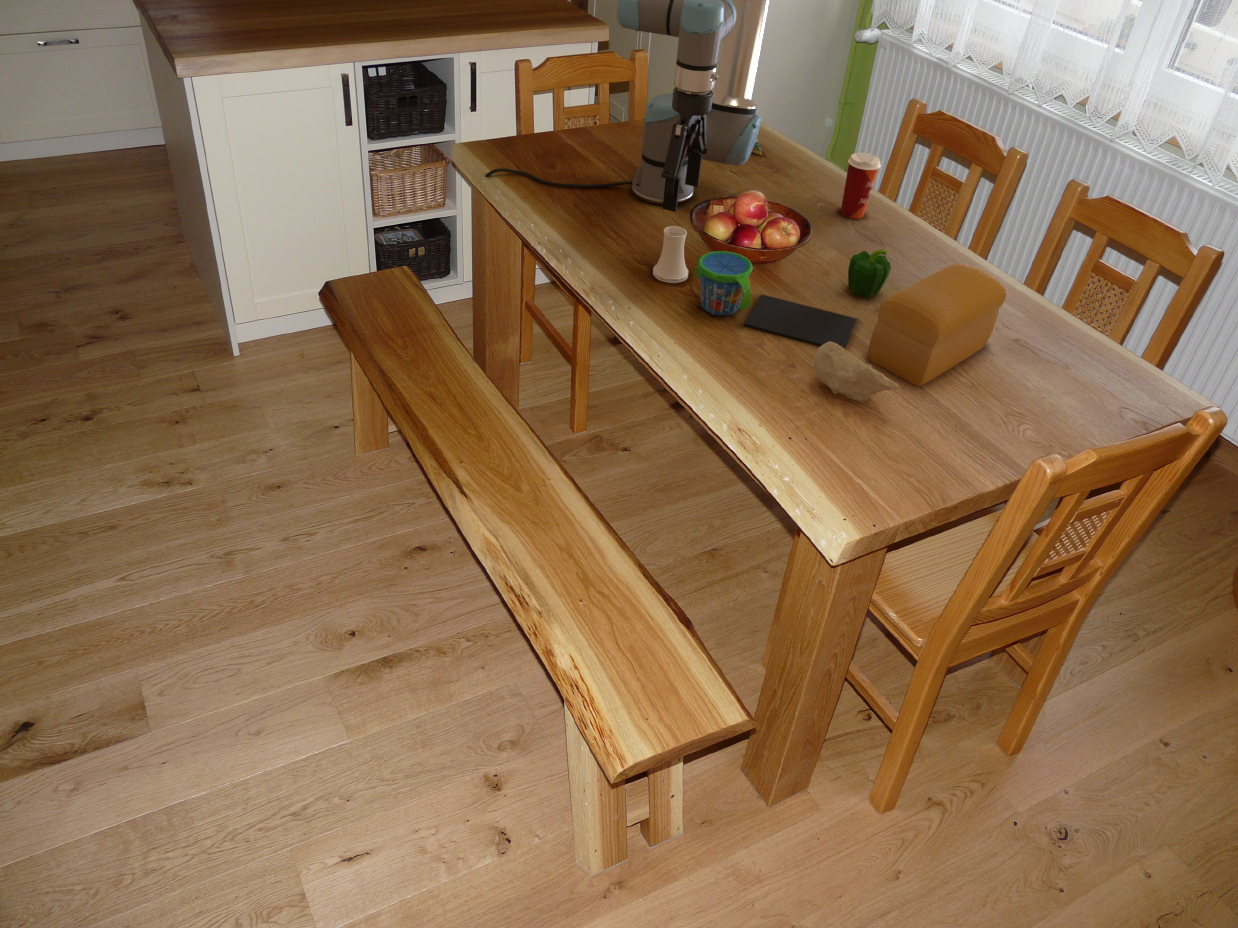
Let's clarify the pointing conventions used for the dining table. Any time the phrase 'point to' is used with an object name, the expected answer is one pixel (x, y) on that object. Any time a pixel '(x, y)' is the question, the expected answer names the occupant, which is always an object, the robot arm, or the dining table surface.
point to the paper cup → (859, 184)
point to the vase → (672, 257)
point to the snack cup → (724, 282)
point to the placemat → (800, 322)
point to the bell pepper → (868, 273)
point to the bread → (936, 323)
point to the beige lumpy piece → (849, 373)
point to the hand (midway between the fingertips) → (680, 197)
